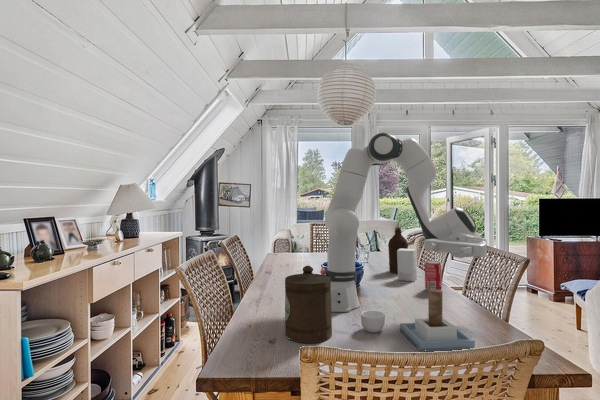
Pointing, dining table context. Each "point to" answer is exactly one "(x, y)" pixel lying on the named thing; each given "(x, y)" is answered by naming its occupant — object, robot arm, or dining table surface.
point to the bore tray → (436, 344)
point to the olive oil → (393, 246)
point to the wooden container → (308, 307)
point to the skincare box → (406, 264)
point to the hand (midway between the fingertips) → (447, 249)
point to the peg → (435, 307)
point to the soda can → (433, 275)
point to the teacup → (372, 320)
